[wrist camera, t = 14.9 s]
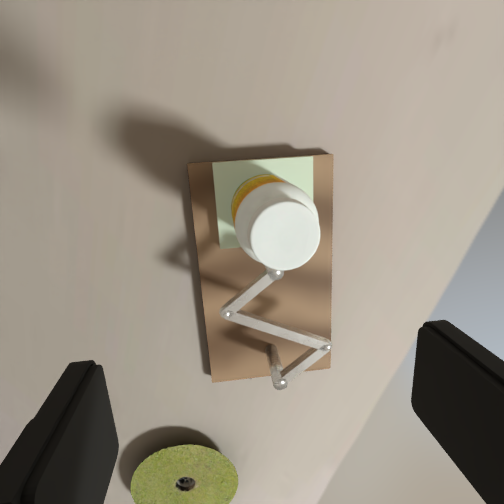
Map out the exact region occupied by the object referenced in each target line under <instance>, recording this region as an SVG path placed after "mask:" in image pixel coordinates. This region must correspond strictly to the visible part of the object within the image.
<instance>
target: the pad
mask: <svg viewBox="0 0 504 504" xmlns="http://www.w3.org/2000/svg"><path fill="white" fill-rule="evenodd" d="M212 166H213V177H214V188H215V199H216V209H217V220H218V231H219V242H220V249H227V248H238V247H241V246H240V244H239V242H238V240H237V237H236V232H235V228H234V223H233V219H232V214H231V201H232V197H233V195H234V192H235V191H236V189H237V188H238V186H239V185H240V184H241V183H242V182H243V181H245V180H246V179H248V178H250V177H252V176H255V175H259V174H272V175H276V176H278V177H280V178H283V179H284V180H286V181H288V182H289V183H291V184H293V185H295V186H297V187H298V188H300V189H302V190H303V191H304V192H305V193H306V194H307V195H308V196H309V197H310V198H311V199H312V201H313V156H300V157H285V158H270V159H255V160H240V161H226V162H212Z"/></svg>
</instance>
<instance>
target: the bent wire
mask: <svg viewBox="0 0 504 504" xmlns="http://www.w3.org/2000/svg"><path fill="white" fill-rule="evenodd" d="M264 266H265V265H264ZM265 268H266V270H265V271H264V272H263V273H261V274H260V275H259V276H258V277H257V278H255V279H254V280H253V281H252V282H251V283H249V284H248V285H247V286H246V287H245V288H243V289H242V290H241V291H240V292H239V293H237V294H236V295H235V296H234V297H233V298H231V299H230V300H229V301H228V302H227V303H225V304H224V305H223V306H222V307H221V308H220V310H219V314H220V316H221V317H222V318H224V319H226V320H229V321H232V322H235V323H238V324H241V325H245V326H248V327H251V328H254V329H257V330H260V331H263V332H266V333H269V334H272V335H275V336H279V337H282V338H285V339H288V340H291V341H294V342H297V343H300V344H303V345H306V346H309V347H311V348H310V349H308V350H307V351H306V352H305V353H303V354H302V355H301V356H300V357H298V358H297V359H296V360H294V361H293V362H292V363H291V364H289V365H288V366H287V367H285V368H284V369H283V366H282V363H281V360H280V357H279V353H278V350H277V347H276V346H275V345H273V344H270V345H268V346H266V348H265V353H266V357H267V361H268V365H269V369H270V373H271V377H272V381H273V385H274V388H275V389H277V390H282V389H284V388H286V387H287V384H288V383H289V382H290V381H292V380H293V379H294V378H295V377H297V376H298V375H299V374H301V373H302V372H303V371H305V370H306V369H307V368H308V367H310V366H311V365H312V364H314V363H315V362H316V361H317V360H319V359H320V358H321V357H323V356H324V355H325V354H327V353H328V352H329V351H330V349H331V348H332V343H331V341H330V340H329V339H327V338H324V337H321V336H318V335H315V334H312V333H309V332H306V331H303V330H300V329H297V328H294V327H291V326H288V325H285V324H282V323H279V322H276V321H273V320H270V319H267V318H264V317H261V316H258V315H255V314H252V313H249V312H246V311H243V310H240V309H241V308H242V307H243V306H244V305H246V304H247V303H248V302H249V301H250V300H252V299H253V298H254V297H255V296H256V295H258V294H259V293H260V292H261V291H262V290H264V289H265V288H266V287H267V286H269V285H270V284H271V283H272V282H273V281H275V280H279V279H281V278H282V277H283V275H284V270H275V269H272V268H269V267H267V266H265Z"/></svg>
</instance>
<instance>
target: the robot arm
mask: <svg viewBox="0 0 504 504" xmlns="http://www.w3.org/2000/svg"><path fill="white" fill-rule="evenodd" d="M411 403H412V407H413V410H414V412H415V413H416V414H417V416H418V417H419V418H420V420H421V421H422V422H423V424H424V425H425V426H426V427H427V429H428V430H429V431H430V432H431V434H432V435H433V436H434V437H435V439H436V440H437V441H438V443H439V444H440V445H441V446H442V448H443V449H444V450H445V452H446V453H447V454H448V455H449V456H450V458H451V459H452V460H453V462H454V463H455V464H456V466H457V467H458V468H459V469H460V471H461V472H462V473H463V474H464V475H465V477H466V478H467V480H468V481H469V482H470V483H471V485H472V486H473V487H474V488H475V490H476V491H477V492H478V493H479V495H480V496H481V497H482V499H483V500H484V501H485V502H486V504H504V361H503V360H501V359H500V358H499V357H497V356H496V355H494V354H493V353H492V352H490V351H489V350H487V349H486V348H485V347H483V346H482V345H480V344H479V343H478V342H476V341H475V340H473V339H472V338H471V337H469V336H468V335H466V334H465V333H464V332H462V331H461V330H459V329H458V328H457V327H455V326H454V325H453V324H451V323H450V322H448V321H446V320H438V321H429V322H425V323H424V324H423V327H421V328H420V329H419V330H418V338H417V348H416V358H415V367H414V377H413V387H412V398H411ZM118 448H119V444H118V437H117V432H116V428H115V423H114V418H113V414H112V409H111V404H110V400H109V395H108V390H107V386H106V381H105V376H104V371H103V368H102V366H101V365H96V363H95V362H94V361H93V360H89V361H80V362H72V363H70V364H69V365H68V366H67V368H66V369H65V371H64V373H63V374H62V376H61V377H60V379H59V380H58V382H57V383H56V385H55V386H54V388H53V390H52V391H51V393H50V394H49V396H48V397H47V399H46V400H45V402H44V403H43V405H42V407H41V408H40V410H39V411H38V413H37V414H36V416H35V417H34V419H32V420H31V421H30V422H29V423H28V424H27V425H26V427H25V428H24V430H23V431H22V433H21V435H20V436H19V438H18V439H17V441H16V442H15V444H14V445H13V447H12V448H11V450H10V451H9V453H8V454H7V456H6V457H5V459H4V460H3V462H2V463H1V465H0V504H103V503H104V500H105V496H106V493H107V489H108V486H109V483H110V479H111V476H112V473H113V469H114V466H115V462H116V459H117V455H118Z"/></svg>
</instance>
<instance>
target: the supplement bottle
mask: <svg viewBox="0 0 504 504" xmlns="http://www.w3.org/2000/svg"><path fill="white" fill-rule="evenodd" d="M231 214H232V219H233V223H234V228H235V232H236V237H237V240H238V242H239V244H240V246H241V247H242V249H243V250H244V251H245V252H246V253H247V254H248V255H249V256H250V257H251V258H253V259H254V260H256V261H258V262H260V263H262V264H264V265H265V266H267V267H269V268H272V269H275V270H291V269H295V268H298V267H300V266H302V265H303V264H305V263H306V262H307V261H308V260H309V259H310V258H311V257H312V256H313V255H314V253H315V252H316V250H317V248H318V245H319V242H320V226H319V218H318V212H317V209H316V207H315V204H314V203H313V201H312V199H311V198H310V197H309V196H308V195H307V194H306V193H305V192H304V191H303V190H302V189H300V188H298V187H297V186H295V185H293V184H291V183H289V182H288V181H286V180H284V179H283V178H280V177H278V176H276V175H272V174H259V175H255V176H252V177H250V178H248V179H246V180H245V181H243V182H242V183H241V184H240V185H239V186H238V188H237V189H236V191H235V192H234V195H233V197H232V201H231Z"/></svg>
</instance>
